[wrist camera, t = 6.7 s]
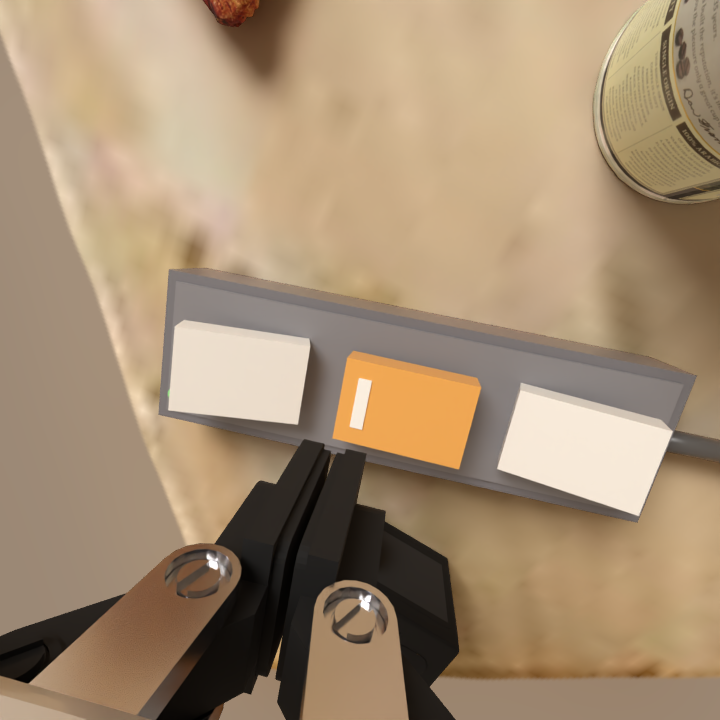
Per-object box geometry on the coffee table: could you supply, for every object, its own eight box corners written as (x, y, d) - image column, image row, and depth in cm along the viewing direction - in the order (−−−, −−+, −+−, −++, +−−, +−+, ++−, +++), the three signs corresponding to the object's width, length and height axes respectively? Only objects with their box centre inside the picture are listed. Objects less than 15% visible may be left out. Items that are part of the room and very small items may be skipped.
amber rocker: (477, 377, 20) (481, 388, 18) (456, 454, 21) (459, 470, 19) (353, 350, 20) (346, 357, 19) (339, 425, 21) (331, 438, 20)
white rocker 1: (309, 338, 21) (310, 346, 20) (297, 411, 22) (297, 424, 21) (183, 319, 20) (174, 326, 18) (177, 398, 21) (168, 410, 19)
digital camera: (460, 545, 28) (476, 638, 21) (415, 602, 29) (418, 705, 22) (324, 465, 27) (296, 532, 21) (286, 526, 29) (248, 607, 22)
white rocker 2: (661, 419, 19) (672, 431, 17) (630, 498, 20) (638, 516, 18) (520, 382, 20) (520, 390, 19) (499, 456, 21) (497, 468, 20)
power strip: (756, 378, 23) (833, 404, 19) (701, 504, 25) (759, 553, 21) (205, 268, 25) (165, 269, 21) (194, 392, 27) (155, 416, 23)
